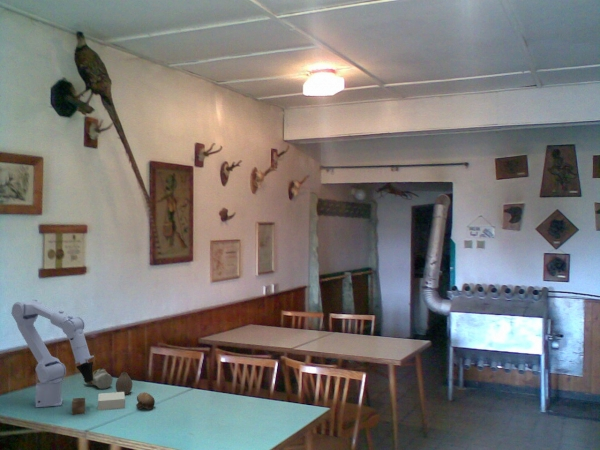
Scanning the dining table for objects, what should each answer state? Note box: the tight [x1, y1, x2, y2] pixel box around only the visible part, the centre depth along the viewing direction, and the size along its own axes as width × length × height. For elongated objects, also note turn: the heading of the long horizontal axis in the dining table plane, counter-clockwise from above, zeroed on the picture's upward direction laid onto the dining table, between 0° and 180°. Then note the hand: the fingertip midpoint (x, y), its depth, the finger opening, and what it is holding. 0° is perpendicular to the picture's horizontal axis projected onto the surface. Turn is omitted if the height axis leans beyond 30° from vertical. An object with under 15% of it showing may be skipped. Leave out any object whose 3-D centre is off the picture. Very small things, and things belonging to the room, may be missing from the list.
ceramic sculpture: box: [83, 367, 114, 390], centre depth 259 cm, size 11×9×15 cm
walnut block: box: [71, 397, 86, 416], centre depth 224 cm, size 4×4×5 cm
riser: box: [97, 391, 126, 411], centre depth 233 cm, size 10×10×4 cm
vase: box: [115, 372, 133, 396], centre depth 249 cm, size 7×7×9 cm
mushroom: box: [135, 392, 155, 410], centre depth 230 cm, size 8×8×6 cm
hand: (89, 381), depth 226 cm, fingers open, 7 cm apart
